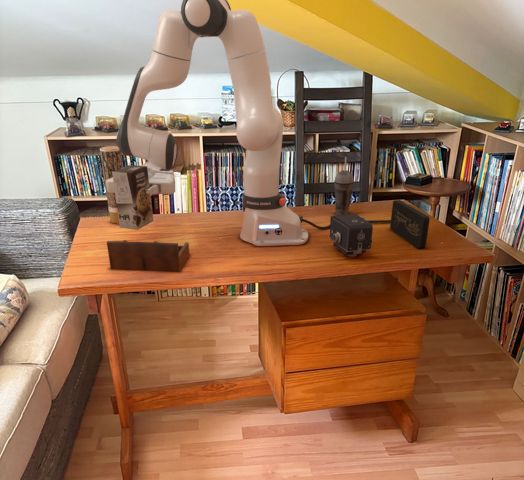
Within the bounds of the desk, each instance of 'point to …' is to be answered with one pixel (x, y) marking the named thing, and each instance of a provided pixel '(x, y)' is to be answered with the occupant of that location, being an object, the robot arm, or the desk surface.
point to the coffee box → (132, 197)
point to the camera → (351, 233)
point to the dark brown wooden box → (147, 255)
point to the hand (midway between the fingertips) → (133, 192)
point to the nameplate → (409, 223)
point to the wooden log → (111, 163)
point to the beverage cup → (343, 190)
